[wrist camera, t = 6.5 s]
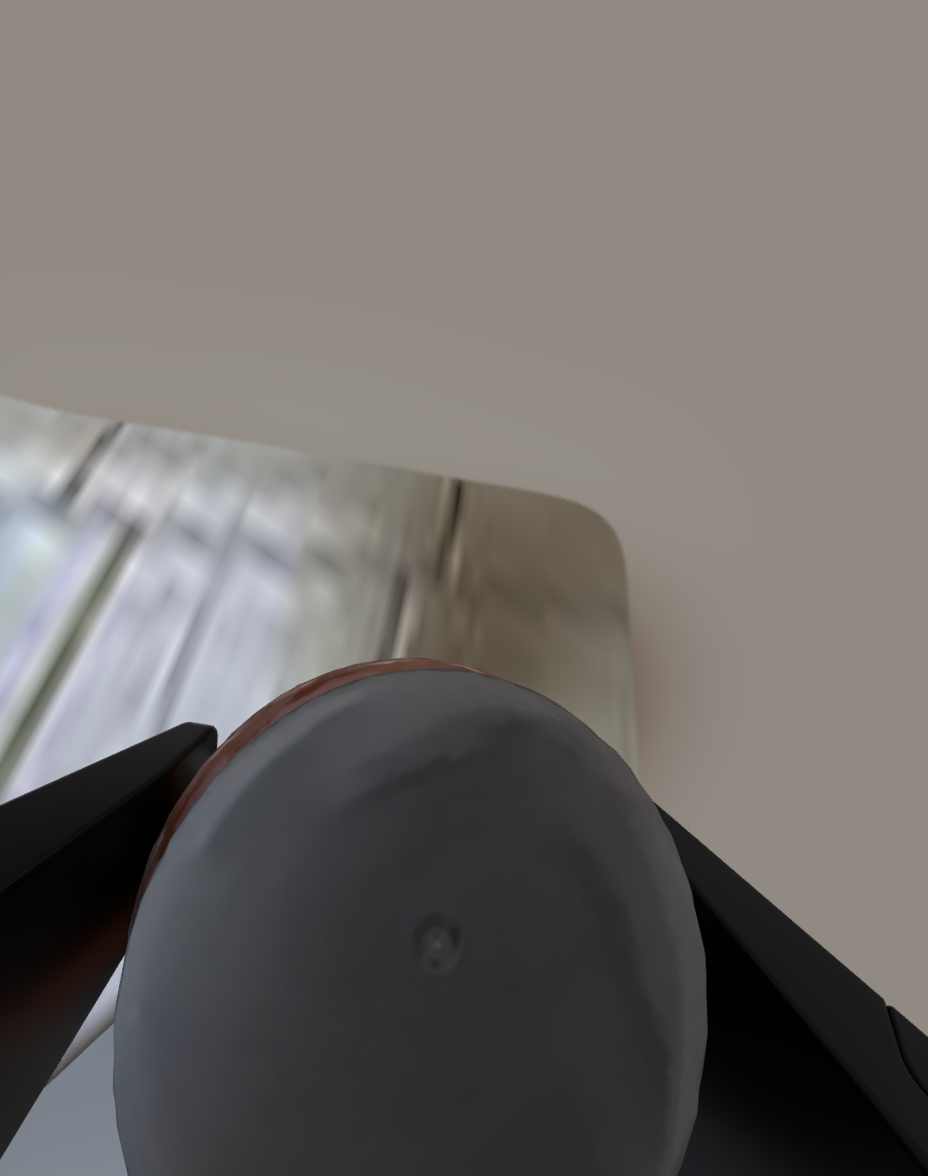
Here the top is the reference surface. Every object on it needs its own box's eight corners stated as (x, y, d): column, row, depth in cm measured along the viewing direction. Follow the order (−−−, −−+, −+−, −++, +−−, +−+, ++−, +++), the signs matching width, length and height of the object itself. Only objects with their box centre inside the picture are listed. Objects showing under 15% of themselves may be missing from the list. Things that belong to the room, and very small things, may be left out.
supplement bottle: (215, 858, 13) (-312, 911, 3) (401, 704, 15) (461, 443, 5) (364, 1082, 12) (333, 2581, 2) (543, 874, 14) (983, 955, 4)
